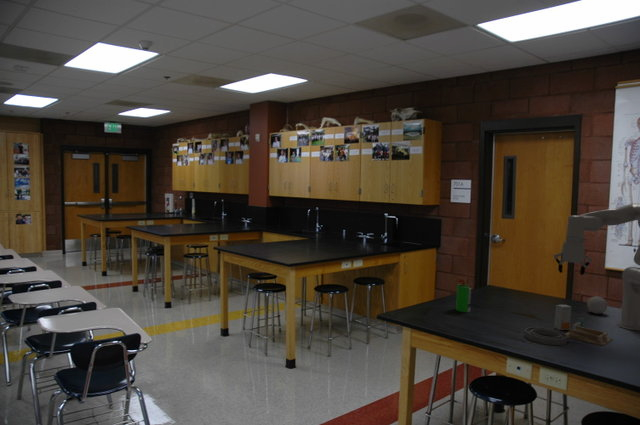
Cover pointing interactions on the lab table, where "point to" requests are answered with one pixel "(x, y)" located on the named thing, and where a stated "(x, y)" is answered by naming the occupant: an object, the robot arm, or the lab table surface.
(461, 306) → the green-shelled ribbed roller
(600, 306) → the eye model
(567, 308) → the skincare box
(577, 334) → the rest
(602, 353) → the lab table surface
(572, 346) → the lab table surface
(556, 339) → the mechanical component
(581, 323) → the gate
